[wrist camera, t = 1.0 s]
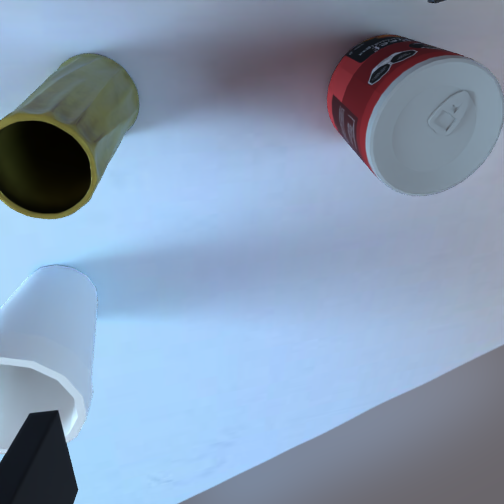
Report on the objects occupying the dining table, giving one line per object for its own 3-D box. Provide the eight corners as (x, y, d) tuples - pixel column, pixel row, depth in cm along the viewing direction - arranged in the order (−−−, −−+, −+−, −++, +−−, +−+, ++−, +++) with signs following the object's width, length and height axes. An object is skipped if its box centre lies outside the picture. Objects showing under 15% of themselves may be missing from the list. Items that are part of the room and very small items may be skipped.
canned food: (442, 48, 35) (533, 77, 25) (397, 151, 38) (461, 209, 29) (347, 18, 33) (406, 37, 23) (310, 128, 37) (348, 183, 27)
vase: (155, 87, 34) (130, 153, 22) (114, 155, 36) (71, 249, 24) (75, 34, 32) (-2, 73, 20) (37, 109, 34) (-53, 187, 22)
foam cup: (23, 232, 39) (-47, 338, 28) (130, 273, 42) (105, 382, 31) (-7, 315, 43) (-78, 437, 32) (93, 347, 46) (60, 467, 35)
